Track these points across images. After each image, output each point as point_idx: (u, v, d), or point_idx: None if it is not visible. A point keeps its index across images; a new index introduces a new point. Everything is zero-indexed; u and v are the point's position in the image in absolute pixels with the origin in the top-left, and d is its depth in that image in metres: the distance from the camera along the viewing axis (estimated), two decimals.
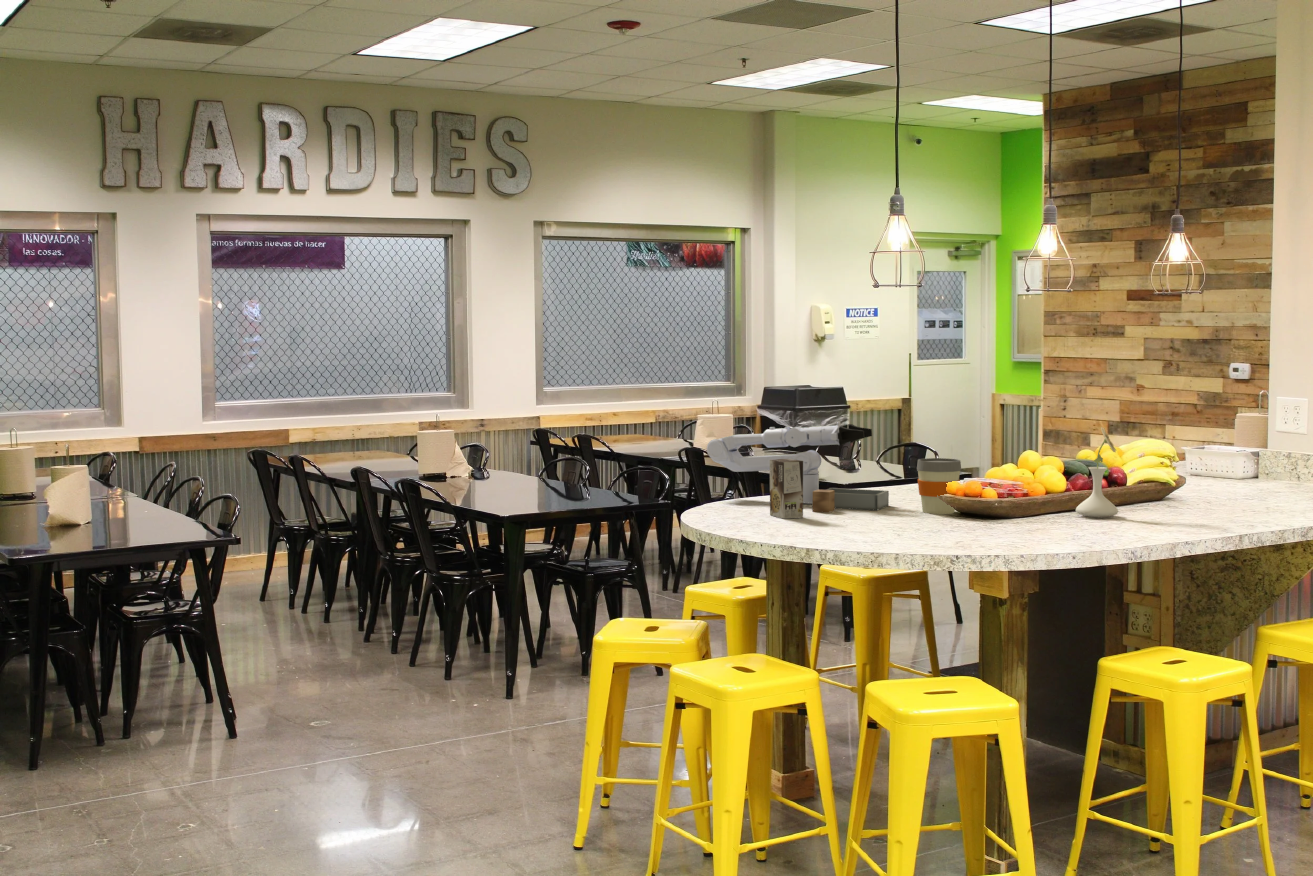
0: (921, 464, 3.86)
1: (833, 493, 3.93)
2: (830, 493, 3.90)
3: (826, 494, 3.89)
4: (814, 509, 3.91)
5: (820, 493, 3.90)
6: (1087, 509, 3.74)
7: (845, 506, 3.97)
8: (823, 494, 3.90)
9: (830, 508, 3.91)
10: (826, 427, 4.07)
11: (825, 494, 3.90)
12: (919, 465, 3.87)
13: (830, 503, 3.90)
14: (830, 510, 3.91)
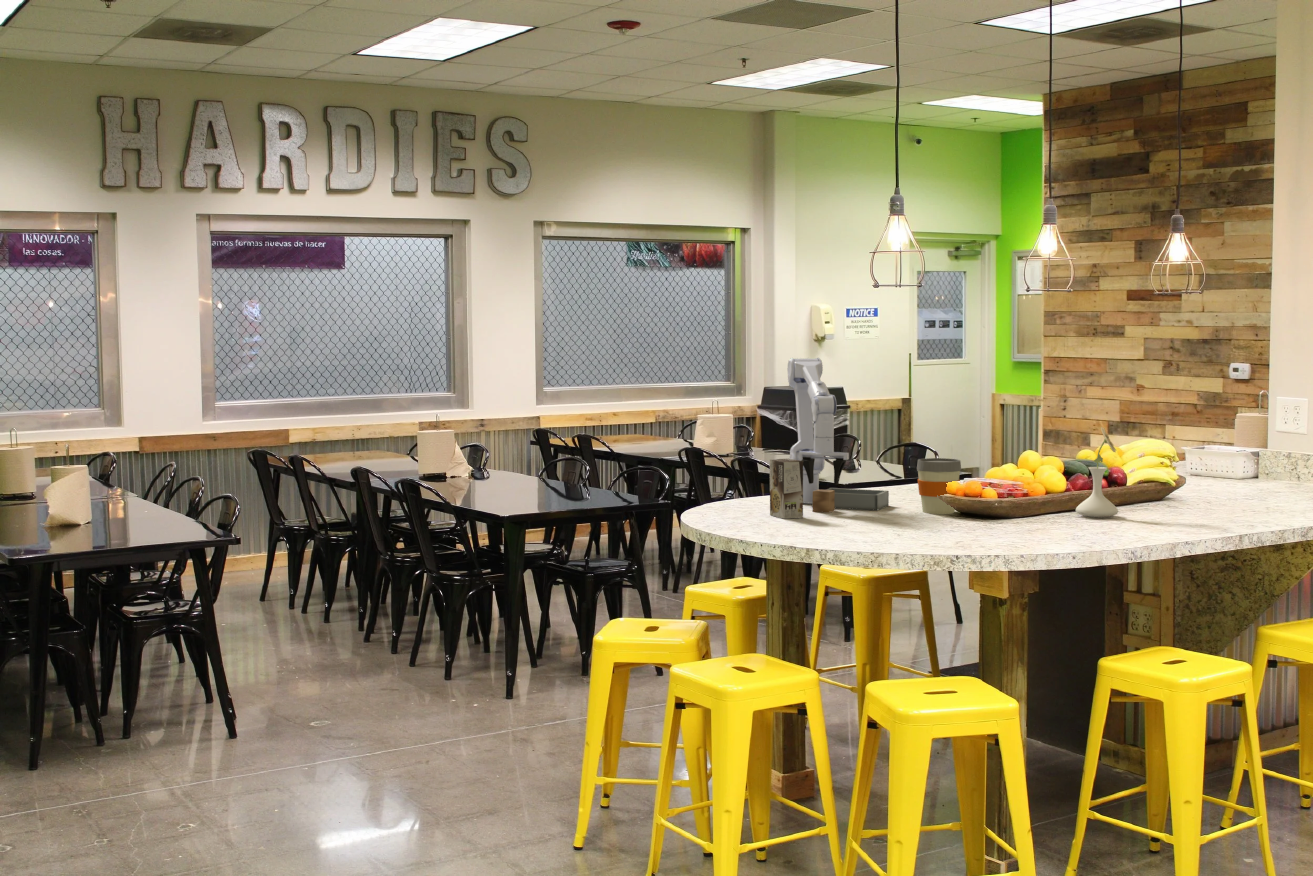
0: (921, 464, 3.86)
1: (833, 493, 3.93)
2: (830, 493, 3.90)
3: (826, 494, 3.89)
4: (814, 509, 3.91)
5: (820, 493, 3.90)
6: (1087, 509, 3.74)
7: (845, 506, 3.97)
8: (823, 494, 3.90)
9: (830, 508, 3.91)
10: (816, 442, 3.90)
11: (825, 494, 3.90)
12: (919, 465, 3.87)
13: (830, 503, 3.90)
14: (830, 510, 3.91)
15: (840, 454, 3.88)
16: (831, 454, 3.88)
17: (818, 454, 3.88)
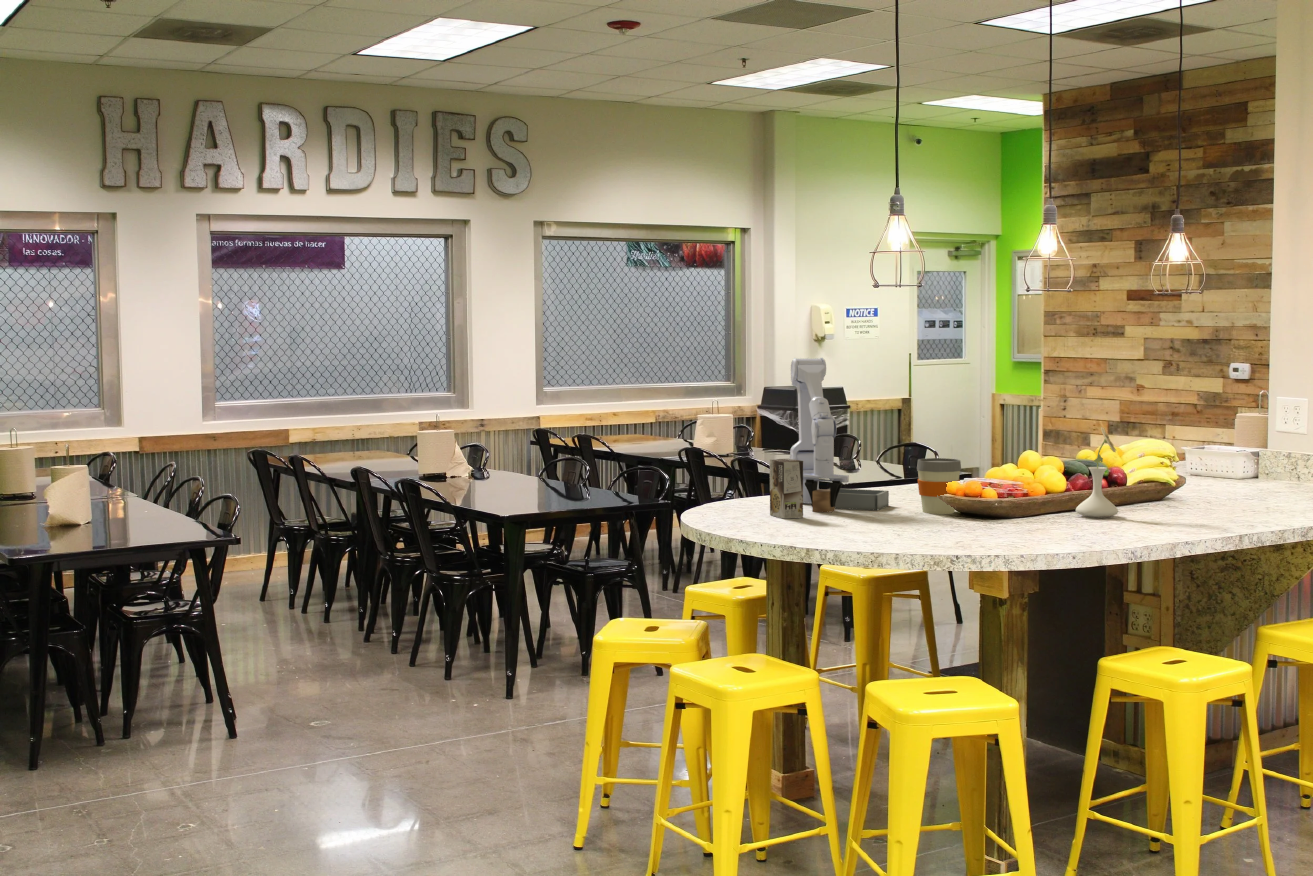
0: (921, 464, 3.86)
1: None
2: (830, 493, 3.90)
3: (826, 494, 3.89)
4: (814, 509, 3.91)
5: (820, 493, 3.90)
6: (1087, 509, 3.74)
7: (845, 506, 3.97)
8: (823, 494, 3.90)
9: (830, 508, 3.91)
10: (816, 464, 3.90)
11: (825, 494, 3.90)
12: (919, 465, 3.87)
13: None
14: (830, 510, 3.91)
15: (840, 477, 3.89)
16: (831, 477, 3.89)
17: (818, 477, 3.89)
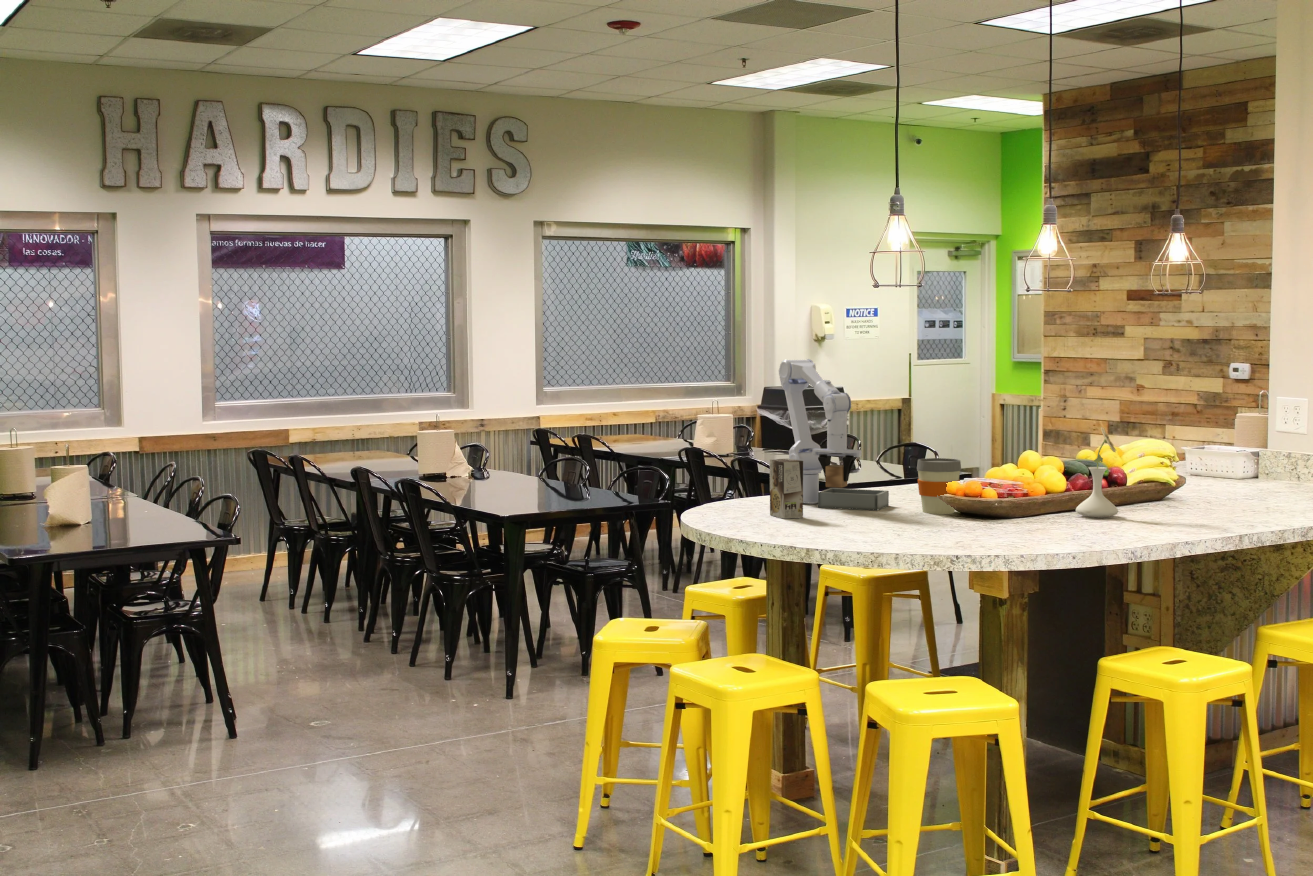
0: (921, 464, 3.86)
1: None
2: (843, 468, 3.94)
3: (839, 469, 3.93)
4: (827, 484, 3.95)
5: (833, 468, 3.94)
6: (1087, 509, 3.74)
7: (845, 506, 3.97)
8: (836, 469, 3.93)
9: (843, 483, 3.94)
10: (830, 439, 3.94)
11: (838, 469, 3.93)
12: (919, 465, 3.87)
13: (843, 478, 3.94)
14: (843, 485, 3.94)
15: (853, 451, 3.92)
16: (844, 451, 3.92)
17: (831, 451, 3.92)
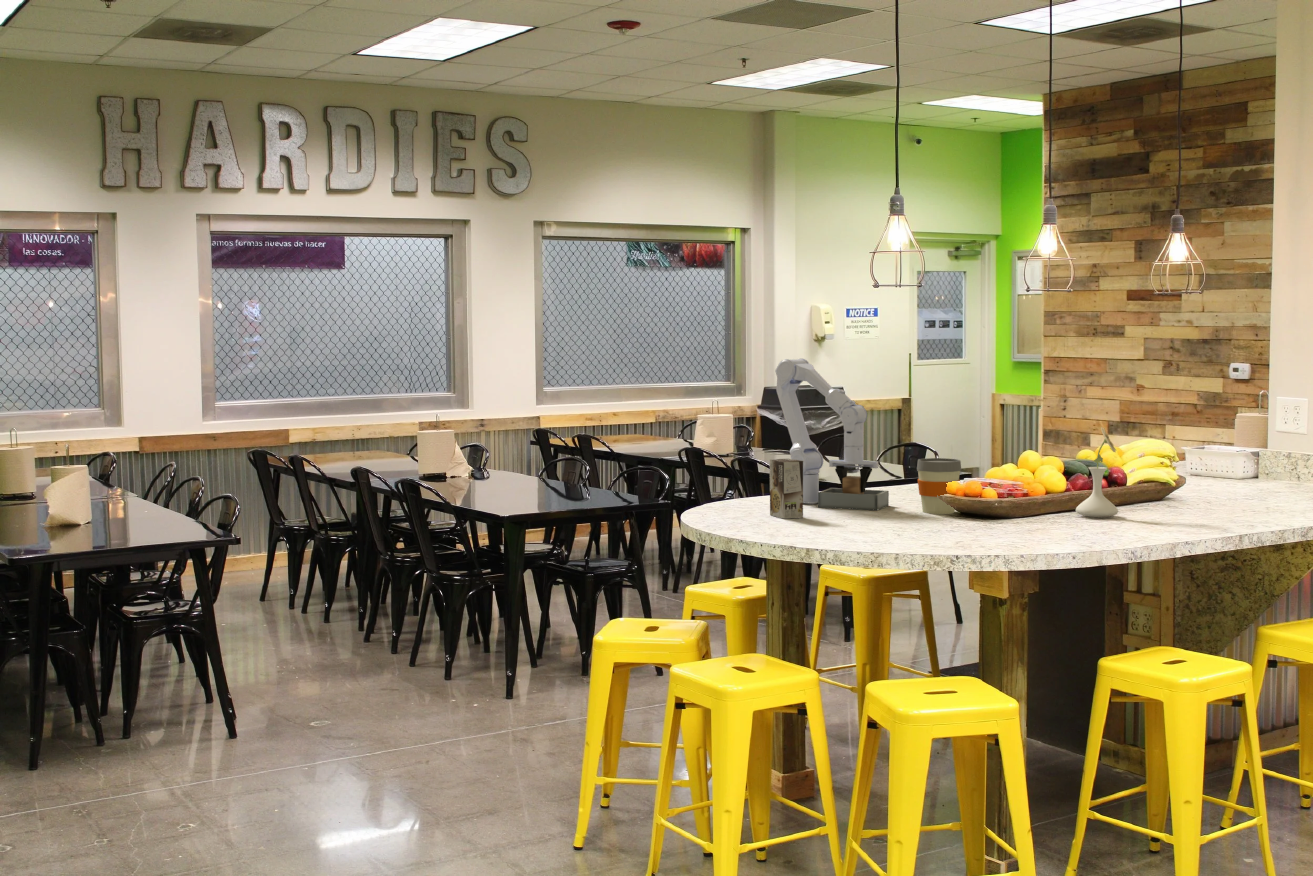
0: (921, 464, 3.86)
1: None
2: (860, 479, 3.99)
3: (856, 480, 3.98)
4: None
5: (850, 480, 3.99)
6: (1087, 509, 3.74)
7: (845, 506, 3.97)
8: (853, 480, 3.99)
9: None
10: (847, 451, 3.99)
11: (855, 480, 3.98)
12: (919, 465, 3.87)
13: (860, 489, 3.99)
14: None
15: (870, 463, 3.98)
16: (861, 463, 3.98)
17: (848, 463, 3.98)
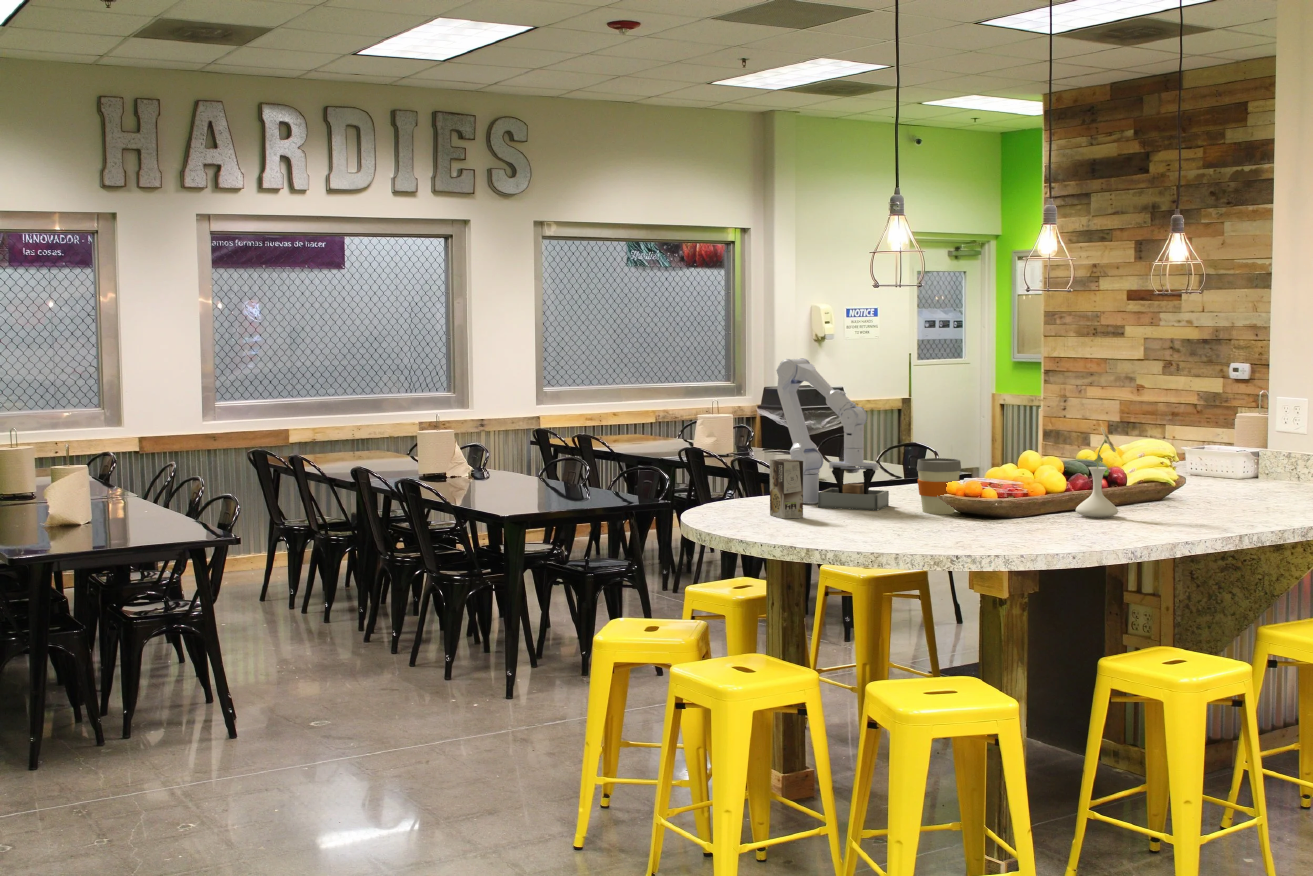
0: (921, 464, 3.86)
1: (862, 487, 4.02)
2: (860, 487, 4.00)
3: (856, 488, 3.99)
4: None
5: (850, 487, 3.99)
6: (1087, 509, 3.74)
7: (845, 506, 3.97)
8: (853, 488, 3.99)
9: None
10: (847, 452, 3.99)
11: (855, 488, 3.99)
12: (919, 465, 3.87)
13: None
14: None
15: (870, 465, 3.98)
16: (861, 465, 3.98)
17: (848, 465, 3.98)
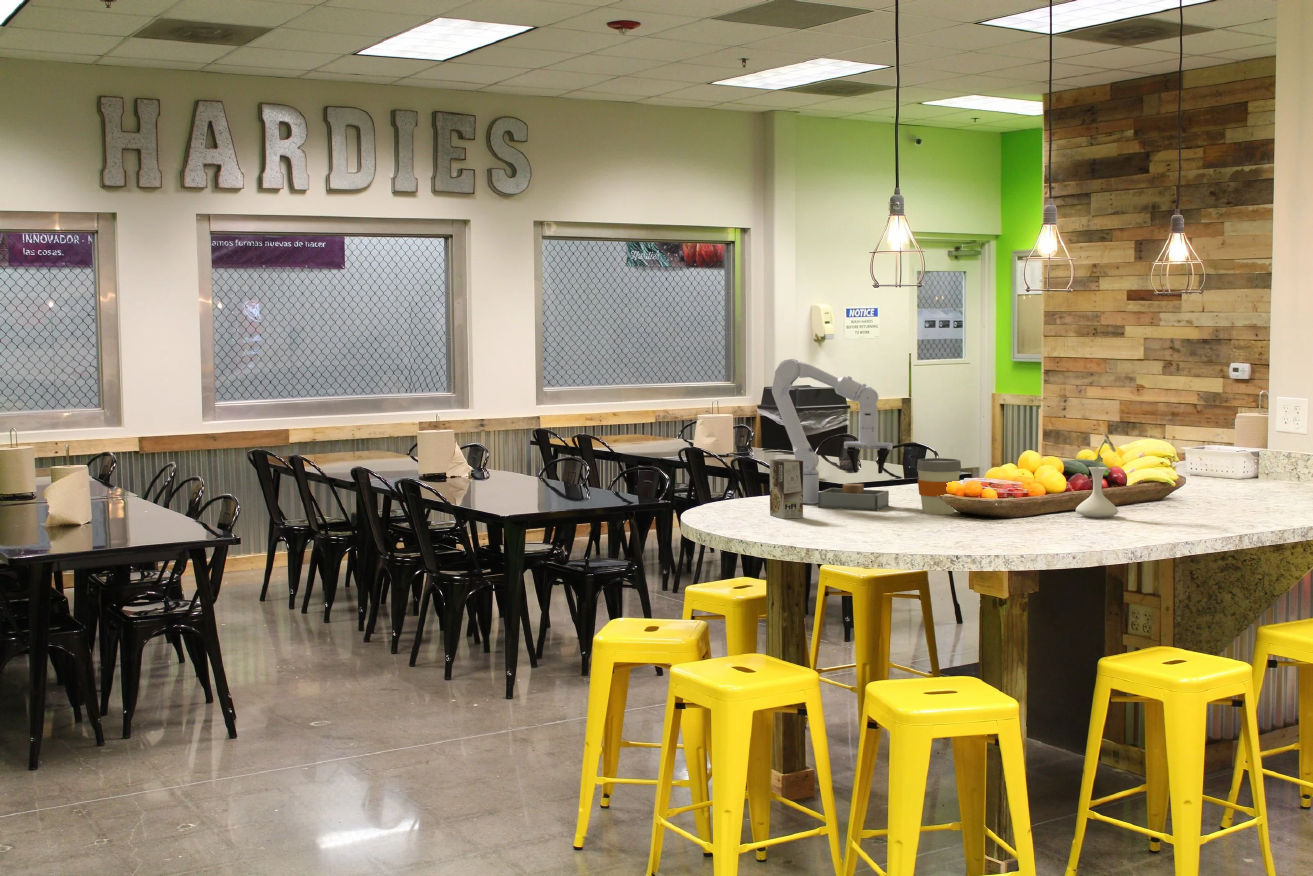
0: (921, 464, 3.86)
1: (862, 487, 4.02)
2: (860, 487, 4.00)
3: (856, 488, 3.99)
4: None
5: (850, 487, 3.99)
6: (1087, 509, 3.74)
7: (845, 506, 3.97)
8: (853, 488, 3.99)
9: None
10: (861, 432, 4.05)
11: (855, 488, 3.99)
12: (919, 465, 3.87)
13: None
14: None
15: (884, 444, 4.04)
16: (875, 444, 4.04)
17: (863, 444, 4.04)
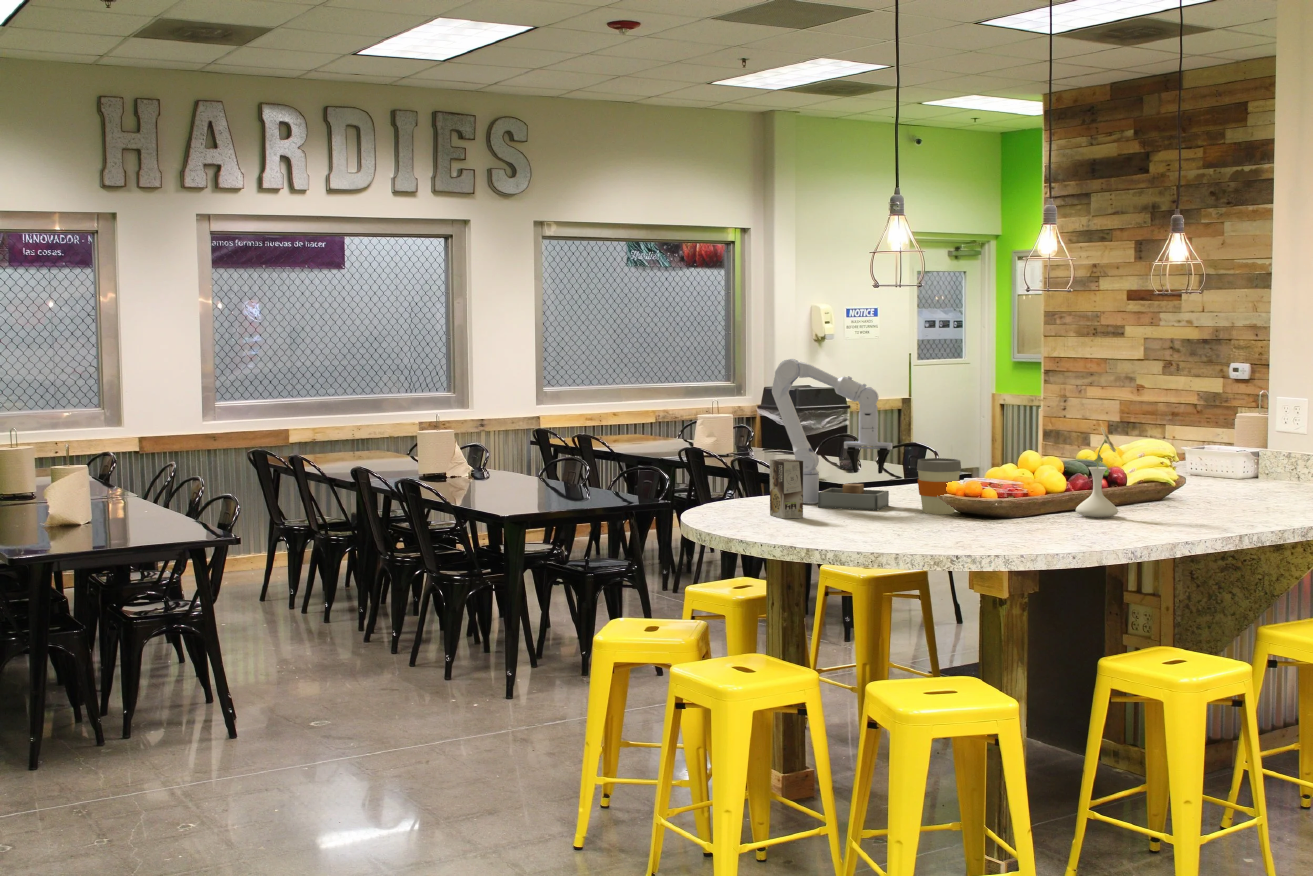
0: (921, 464, 3.86)
1: (862, 487, 4.02)
2: (860, 487, 4.00)
3: (856, 488, 3.99)
4: None
5: (850, 487, 3.99)
6: (1087, 509, 3.74)
7: (845, 506, 3.97)
8: (853, 488, 3.99)
9: None
10: (861, 432, 4.05)
11: (855, 488, 3.99)
12: (919, 465, 3.87)
13: None
14: None
15: (884, 444, 4.04)
16: (875, 444, 4.04)
17: (863, 444, 4.04)
